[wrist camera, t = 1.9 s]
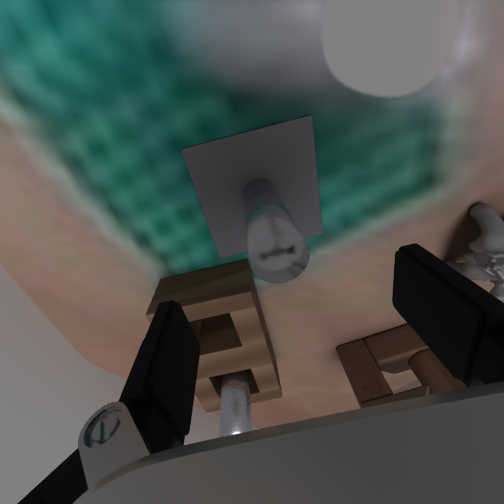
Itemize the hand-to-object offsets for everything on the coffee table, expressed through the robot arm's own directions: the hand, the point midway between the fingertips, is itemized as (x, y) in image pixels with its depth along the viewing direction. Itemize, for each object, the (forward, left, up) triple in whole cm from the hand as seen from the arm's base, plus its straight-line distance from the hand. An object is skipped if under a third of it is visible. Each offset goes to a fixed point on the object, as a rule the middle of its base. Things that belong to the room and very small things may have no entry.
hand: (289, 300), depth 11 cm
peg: (-1, 0, -12) cm, 12 cm away
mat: (-1, 0, -13) cm, 13 cm away
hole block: (+13, -7, -13) cm, 20 cm away
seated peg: (+17, -7, -13) cm, 23 cm away
